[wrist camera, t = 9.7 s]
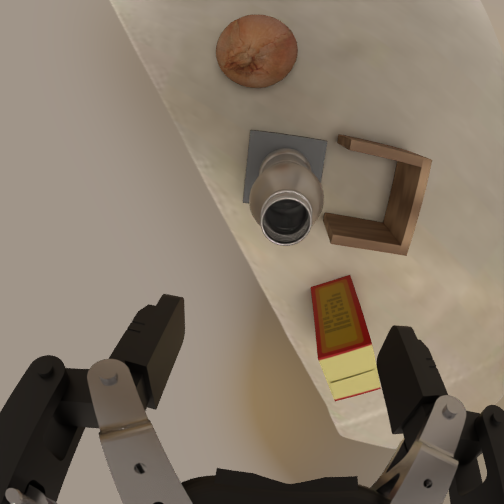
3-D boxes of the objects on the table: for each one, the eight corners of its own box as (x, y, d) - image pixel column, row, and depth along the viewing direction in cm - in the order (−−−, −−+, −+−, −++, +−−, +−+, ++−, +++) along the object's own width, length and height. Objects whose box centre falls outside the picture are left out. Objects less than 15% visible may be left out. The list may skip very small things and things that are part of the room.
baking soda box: (310, 287, 47) (318, 360, 33) (349, 274, 46) (372, 345, 31) (326, 329, 51) (335, 403, 36) (361, 319, 49) (381, 390, 35)
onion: (255, 85, 38) (231, 112, 32) (219, 32, 32) (184, 48, 26) (316, 58, 32) (306, 79, 26) (279, 0, 27) (257, 3, 21)
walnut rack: (338, 134, 37) (351, 139, 30) (407, 150, 36) (432, 160, 29) (323, 220, 42) (330, 243, 35) (388, 231, 42) (406, 255, 35)
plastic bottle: (250, 173, 40) (220, 227, 22) (283, 135, 37) (283, 155, 19) (286, 204, 41) (287, 280, 23) (320, 168, 38) (352, 218, 20)
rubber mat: (251, 130, 38) (250, 130, 37) (326, 140, 37) (327, 141, 37) (243, 200, 42) (242, 202, 41) (314, 210, 42) (315, 212, 41)
